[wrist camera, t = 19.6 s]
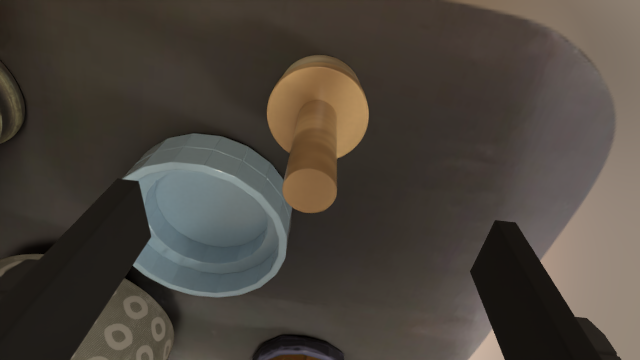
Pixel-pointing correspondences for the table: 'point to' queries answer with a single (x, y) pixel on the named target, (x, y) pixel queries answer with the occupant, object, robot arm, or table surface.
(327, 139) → the brush
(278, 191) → the bowl
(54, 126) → the table surface
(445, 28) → the table surface
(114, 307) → the planter
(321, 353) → the mug
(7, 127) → the container
